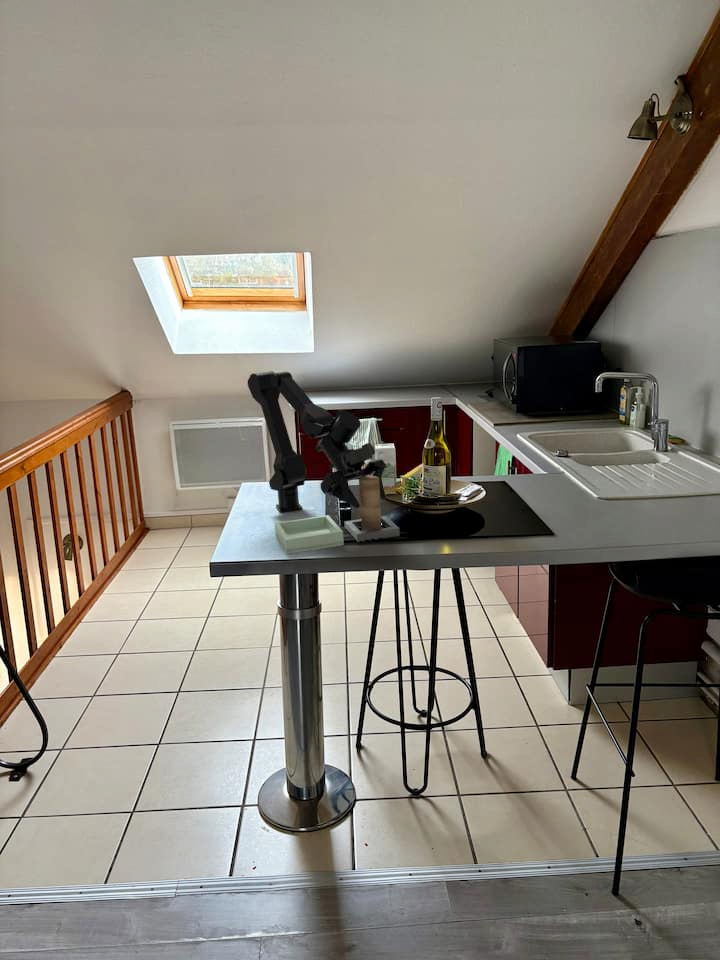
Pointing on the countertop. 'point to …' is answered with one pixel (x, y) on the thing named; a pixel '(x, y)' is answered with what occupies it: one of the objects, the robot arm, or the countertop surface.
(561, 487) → the countertop surface
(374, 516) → the lock pin
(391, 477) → the syrup box
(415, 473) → the candy box
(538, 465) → the countertop surface
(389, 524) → the steel collar
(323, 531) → the tray
